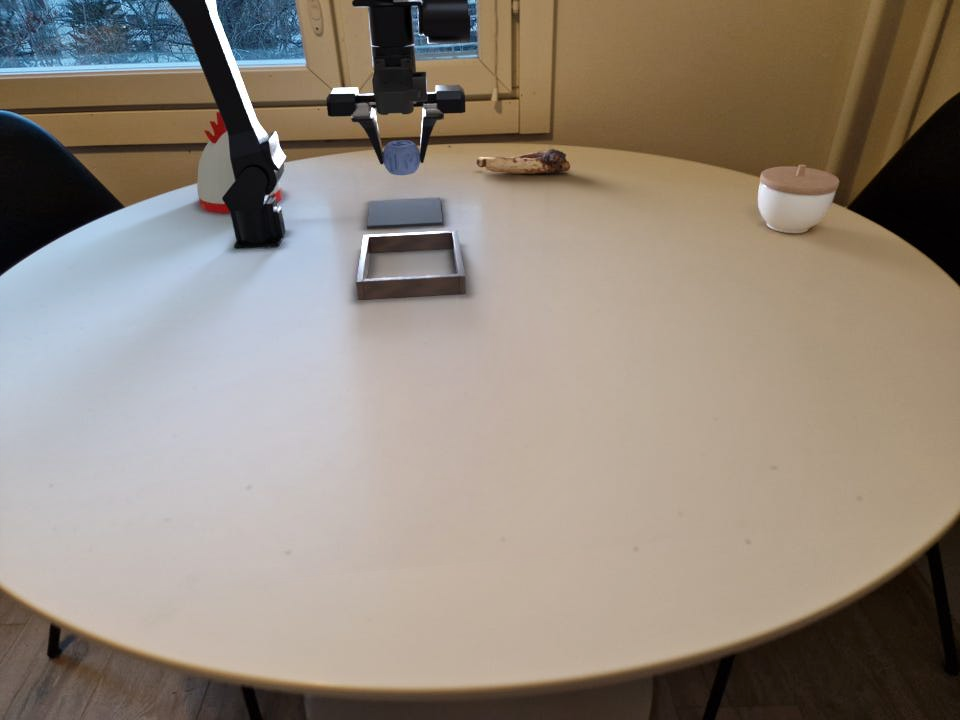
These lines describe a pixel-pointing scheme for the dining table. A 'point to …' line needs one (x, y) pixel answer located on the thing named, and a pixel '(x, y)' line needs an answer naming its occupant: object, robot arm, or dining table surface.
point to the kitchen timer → (218, 170)
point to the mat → (405, 213)
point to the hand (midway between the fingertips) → (401, 163)
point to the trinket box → (795, 197)
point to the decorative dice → (401, 157)
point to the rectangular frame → (415, 283)
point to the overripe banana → (528, 163)
